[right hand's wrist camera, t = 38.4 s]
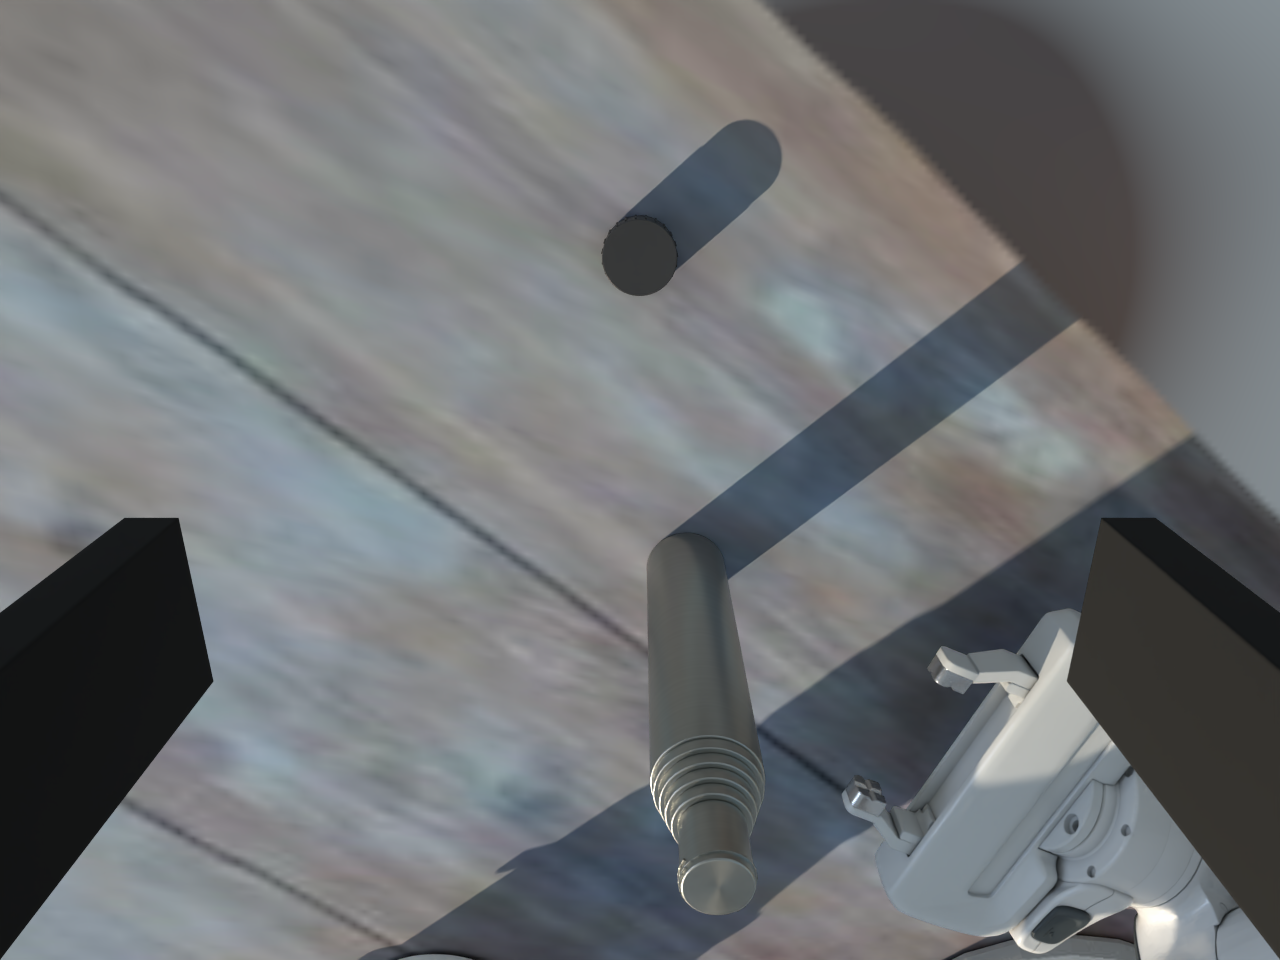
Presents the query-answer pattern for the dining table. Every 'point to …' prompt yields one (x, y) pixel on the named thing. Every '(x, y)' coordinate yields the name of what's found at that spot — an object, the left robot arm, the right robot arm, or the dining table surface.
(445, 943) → the dining table surface
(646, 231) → the cap
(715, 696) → the bottle
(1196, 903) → the left robot arm
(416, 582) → the dining table surface
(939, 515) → the dining table surface
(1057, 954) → the wall clock
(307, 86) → the dining table surface
